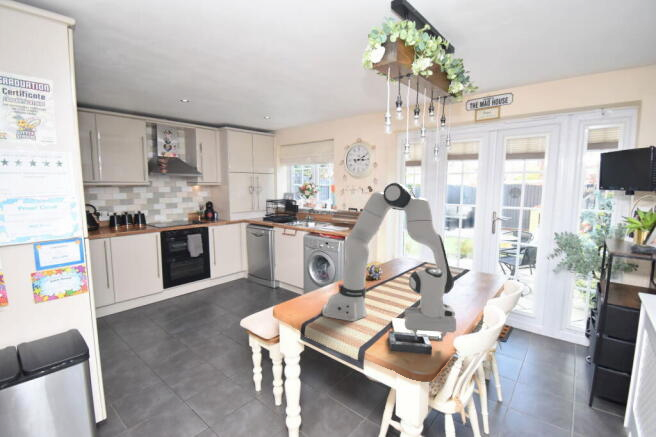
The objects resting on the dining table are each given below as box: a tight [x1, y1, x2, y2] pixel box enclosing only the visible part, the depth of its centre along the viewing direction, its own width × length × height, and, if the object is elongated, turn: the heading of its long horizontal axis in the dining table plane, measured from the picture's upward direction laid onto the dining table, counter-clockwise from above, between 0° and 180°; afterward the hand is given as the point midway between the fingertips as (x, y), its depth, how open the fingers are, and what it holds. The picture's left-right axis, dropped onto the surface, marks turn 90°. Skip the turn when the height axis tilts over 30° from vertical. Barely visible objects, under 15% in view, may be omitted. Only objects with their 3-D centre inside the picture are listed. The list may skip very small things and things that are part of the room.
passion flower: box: [366, 263, 384, 281], centre depth 207 cm, size 11×11×12 cm
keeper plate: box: [390, 317, 442, 341], centre depth 138 cm, size 20×14×7 cm
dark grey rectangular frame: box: [387, 330, 433, 355], centre depth 125 cm, size 16×10×3 cm, turn 84°
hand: (428, 339), depth 124 cm, fingers open, 8 cm apart
